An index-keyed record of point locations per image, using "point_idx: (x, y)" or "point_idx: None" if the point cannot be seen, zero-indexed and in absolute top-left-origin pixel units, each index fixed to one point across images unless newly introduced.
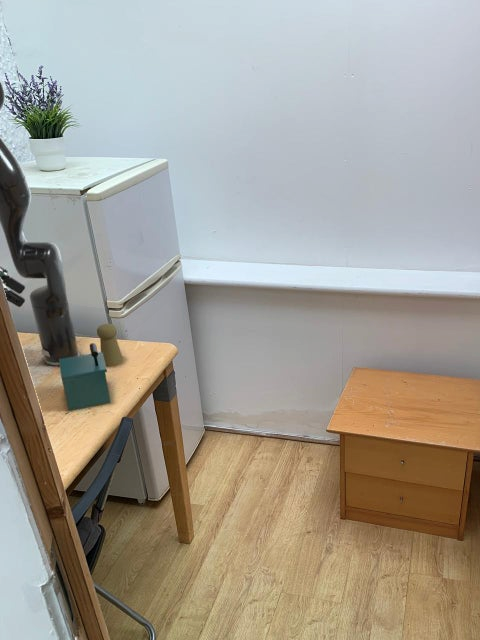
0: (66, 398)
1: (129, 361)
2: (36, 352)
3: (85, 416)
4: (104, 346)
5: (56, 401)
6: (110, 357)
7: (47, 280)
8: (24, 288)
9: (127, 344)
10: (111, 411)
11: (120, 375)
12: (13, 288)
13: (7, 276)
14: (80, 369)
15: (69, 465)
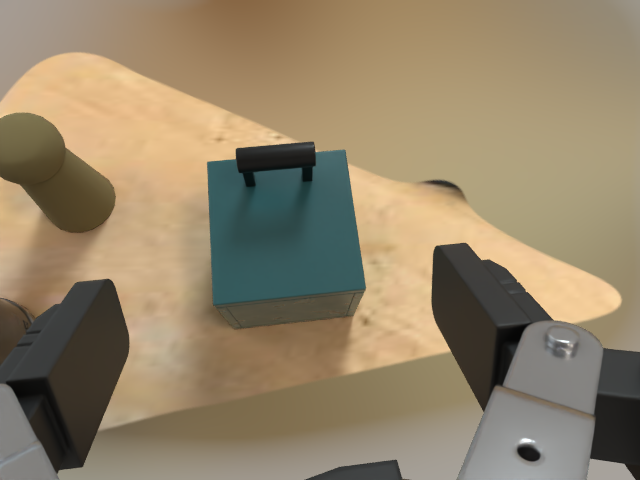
0: (357, 306)
1: (103, 155)
2: None
3: (393, 271)
4: (72, 185)
5: (286, 356)
6: (99, 190)
7: None
8: (112, 287)
9: None
10: (382, 206)
11: (184, 181)
12: (105, 385)
13: (24, 415)
14: (325, 227)
15: (619, 302)
